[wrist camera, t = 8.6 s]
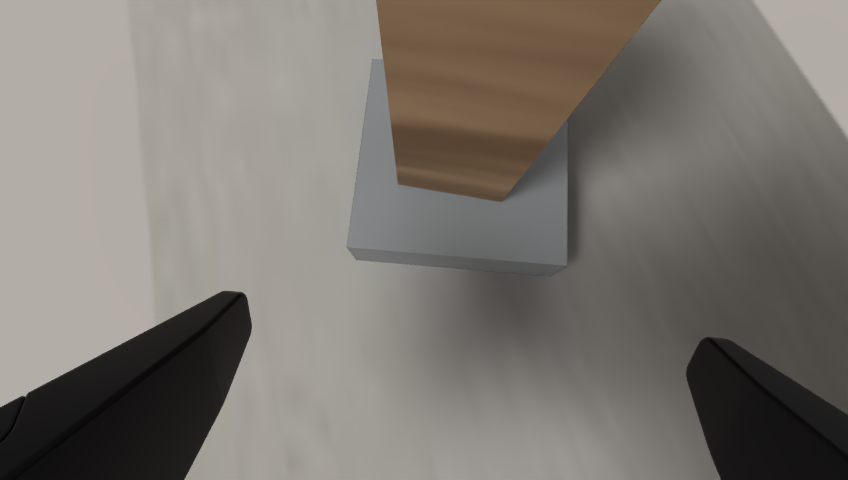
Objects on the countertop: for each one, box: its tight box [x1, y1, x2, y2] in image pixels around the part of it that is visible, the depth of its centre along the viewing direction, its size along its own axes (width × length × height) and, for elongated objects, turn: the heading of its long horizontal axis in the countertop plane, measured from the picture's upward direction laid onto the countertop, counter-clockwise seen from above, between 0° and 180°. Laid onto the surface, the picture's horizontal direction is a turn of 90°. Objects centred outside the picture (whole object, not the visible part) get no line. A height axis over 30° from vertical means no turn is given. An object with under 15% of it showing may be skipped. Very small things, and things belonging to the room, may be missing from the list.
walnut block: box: [376, 0, 661, 202], centre depth 12 cm, size 4×4×13 cm
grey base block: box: [347, 59, 568, 276], centre depth 20 cm, size 9×9×3 cm
